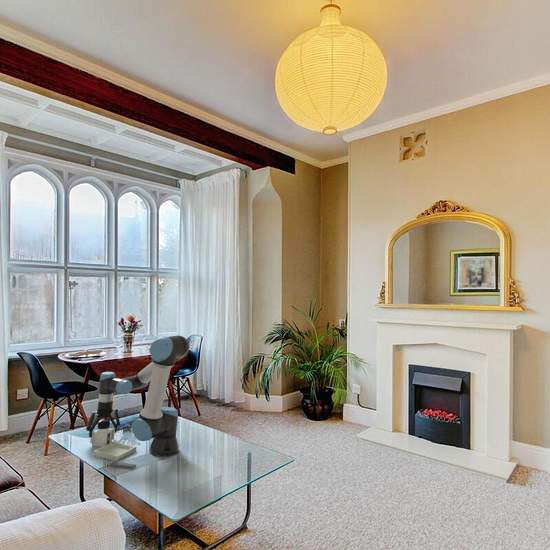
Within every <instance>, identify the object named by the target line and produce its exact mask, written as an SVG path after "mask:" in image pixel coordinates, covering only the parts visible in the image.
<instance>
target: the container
mask: <svg viewBox="0 0 550 550" xmlns="http://www.w3.org/2000/svg"><path fill="white" fill-rule="evenodd" d="M110 427H111V421H110V419H101V420H100V421H99V422H98V424H97V425H96V430H93V431H94V439H93V444H91V446H92V447H96V448H101V447H103V446H105V445H107V444H109V443H111V442H113V440H112V435H113V429H112V428H110Z"/></svg>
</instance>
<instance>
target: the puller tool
mask: <svg viewBox="0 0 550 550" xmlns="http://www.w3.org/2000/svg"><path fill="white" fill-rule="evenodd" d="M109 467H110V468H118V469H128V470H135V469H136V467H137V464H136V463H129V462H128V463H127V462H119V461H117V462H116V461H112V462H111V463H109Z"/></svg>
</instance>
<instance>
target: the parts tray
mask: <svg viewBox="0 0 550 550" xmlns="http://www.w3.org/2000/svg"><path fill="white" fill-rule="evenodd" d="M135 452H137V446H135V445H133V444H128V443H123V442H119V441H114V440H112V442H111V443H109V444H107V445H105V446H103V447H98V448H97V449H95V450H93V454H92V455H93V457H97V458H99V459H100V458H101V459H104V460H105V459H106V460H108V461H112V462H119V461H121V460H123V459H124V458H127V457H128V456H130V455H132V454H133V453H135Z"/></svg>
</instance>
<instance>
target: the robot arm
mask: <svg viewBox="0 0 550 550" xmlns="http://www.w3.org/2000/svg"><path fill="white" fill-rule="evenodd" d="M189 350H190V342H189V341H188V338H186V337H185V336H182V335H171V336H161V337H158V338H156V339H154V340H153V341H152V343H151V344H150V347H149V355H150V358H151V362H150V363H149V364H148V365H146V366H145V367H144V368H142V369H141V370H140V371H139V372H138V373H137V374H135V375H133V376H127V377H124V378H119V377H116V373H115V372H114V371H105V372H102V373H101V374H100V378H99V388H98V389H99V390H98V402H97V409H96V411H93V410H92V411H91V412H90V417H89V420H88V422H87V425H86V427H85V430H86V431H87V432H88V436H89V438H90V440H89V443H90V444H91V445H92V444H93V439H94V431H95V428H97V424H98V422H99V421H100V420H102V419H106V418H107V419H108V420H109V421H110V423H111V425H112V426H111V429H113V435H112V441H114V440H115V435H116V434H117V430H118V427H120V426H121V421H120V418H119V414H118V412H119V411H118V408H113V405H114V404H113V403H114V401H113V400H114V393H116V394H119V395H128V394H129V393H131V392H132V391H135V390H140V389H143V388H146V387H147V386H148V388H147V389H148V390H147V394H146V399H145V403H144V407H143V408H142V409H141V410H140V411H139V415H138V418H135V420H134V421H132V425H131V430H132V433H133V435H134V437H135V439H137V440H138V441H140V442H146V441H150V440H152V442H151V443H150V447H149V453H150V454H151V455H153V456H157V457H169V456H173V455H175V454H177V453H178V452H179V446H180V445H179V442H178V439H177V432H178V431H177V429H178V421H179V420H178V418H179V416H178V415H179V411H178V410H177V409H176V408H174V407H170V406H163V404H164V399H165V395H166V390H167V388H168V387H167V386H168V381H169V378H170V374H171V373H170V372H171V369H172V368H173V367H174V366H175V364H176V362H179V361H180V360H181V359H183V358H184V357H185V356H187V354H188V353H189ZM112 414H113V415H114V418H113V417H112ZM95 417H96V418H95ZM114 419H115V420H114Z"/></svg>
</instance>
